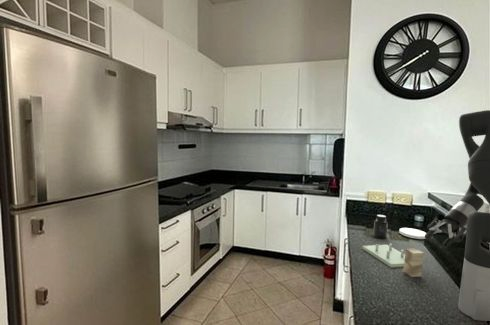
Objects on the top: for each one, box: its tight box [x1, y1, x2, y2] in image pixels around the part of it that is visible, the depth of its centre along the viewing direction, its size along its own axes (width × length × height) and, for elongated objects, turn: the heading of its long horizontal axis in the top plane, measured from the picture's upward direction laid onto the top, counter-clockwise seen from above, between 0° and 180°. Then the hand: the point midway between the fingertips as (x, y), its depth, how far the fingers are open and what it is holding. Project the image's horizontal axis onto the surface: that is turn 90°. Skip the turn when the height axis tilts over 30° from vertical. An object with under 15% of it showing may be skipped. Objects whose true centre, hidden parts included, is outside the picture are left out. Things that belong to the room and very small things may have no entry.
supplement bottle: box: [372, 214, 389, 239], centre depth 161 cm, size 7×7×12 cm
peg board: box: [362, 243, 405, 268], centre depth 135 cm, size 20×14×4 cm
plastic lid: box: [398, 227, 427, 240], centre depth 166 cm, size 14×14×2 cm
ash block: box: [402, 247, 424, 278], centre depth 118 cm, size 4×4×10 cm
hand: (434, 242), depth 120 cm, fingers open, 8 cm apart
